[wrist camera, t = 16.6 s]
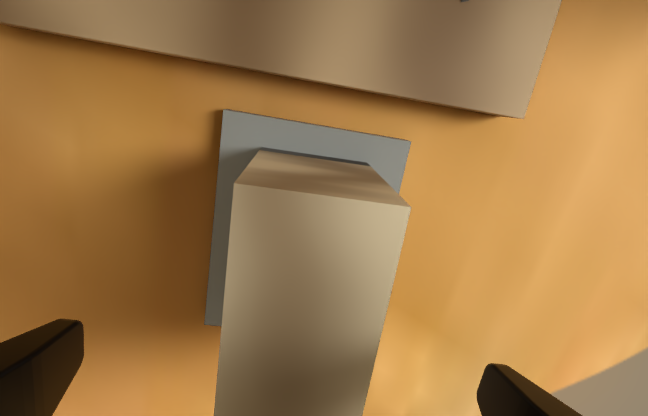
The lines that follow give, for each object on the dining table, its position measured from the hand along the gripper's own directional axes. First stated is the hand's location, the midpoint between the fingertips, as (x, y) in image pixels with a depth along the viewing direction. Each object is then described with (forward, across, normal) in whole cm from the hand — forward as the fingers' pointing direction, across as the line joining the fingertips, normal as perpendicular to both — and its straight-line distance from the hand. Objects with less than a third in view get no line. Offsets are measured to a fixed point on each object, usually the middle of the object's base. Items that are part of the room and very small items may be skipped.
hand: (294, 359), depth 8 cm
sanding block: (+7, 0, 0) cm, 7 cm away
